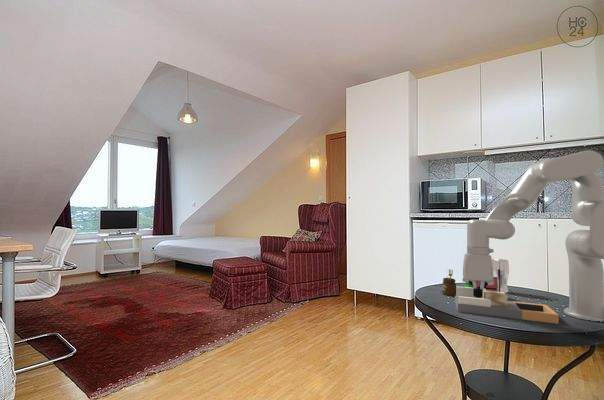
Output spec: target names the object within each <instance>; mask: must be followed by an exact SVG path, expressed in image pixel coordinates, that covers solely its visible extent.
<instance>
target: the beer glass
mask: <svg viewBox="0 0 604 400" xmlns="http://www.w3.org/2000/svg"><path fill="white" fill-rule="evenodd" d="M492 264H493V276H495V277H497V278H498V288H497V289H498V292H504V293H505V294H508V293H509V291H508V290H509V289H508V280H509V276H510V275H509V273H510V265H509V260H508V259H503V258H492Z"/></svg>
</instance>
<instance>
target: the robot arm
mask: <svg viewBox="0 0 604 400" xmlns="http://www.w3.org/2000/svg"><path fill="white" fill-rule="evenodd" d="M603 166H604V157H603V156H602V155H601V153H599V152H597V151H595V150H583V151H579V152H574V153H571V154H567V155H566V154H565V155H562V156H558V157H553V158H547V159H544V160H543V159H542V160H539V161H536V162H534V163H532V164H531V165H529V166H528V168H527V169H526V170H525V171H524V172H523V174H522V176H521V177H520V179H519V180H518V181H517V182H516V184H515V185H514V186H513V188H512V190H511V191H510V192H509V193H508V195H506V196H505V197H504V198H503V199H502V200H501V201H500V202H499V203H498V204H497V205H496V206H494V208H493V209H492V211H490V213H489V214H488V215H487V217H486V219H469V220H467V224H466V253H464V256H463V264H462V265H463V266H462V276H463V277H462V282H463V283H465V284H466V283H469V284H470V285H471V286H472V287H473V296H475V298H481V297H483V289H484V288H485V287H486V286H487V285H493V284H494V281H493V264H492V259H493V258H492V255H490V254H491V253H494V249H493V248H490V239H497V240H503V241H505V240H508V239H510V238H512V237H513V236H514V235H515V233H516V228H515V225H514V224H513V223H512V222H510V221H511V220H512V218H513V217H514V216H516V215H517V214H518V213H520V212H522V211H524V210H527V209H528V208H530V207H531V206H533V205H534V204H535V203H536V201H537V200H538V198H539V197H540V195H541V194H542V193H543V191H544V190H545V189H546V187H547V186H548V185H549V183H550V184H551V183H556V182H557V183H558V182H561V181H568V182H569V184H570V186H571V189H572V198H571V199H572V201H571V212H570V213H571V219H572V221H573V222H574V223H575V224H576V225H579V226H582V227H589V229H576V230H573V231H571V232H570V233H568V235H567V236H566V237H565V243H564V244H565V251H566V254H567V261H568V286H569V287H568V295H569V299H568V300H569V301H568V302H569V303H568V305H569V306H568V307H566V308H564V309H563V312H564V314H566V315H568V316H570V317H573V318H576V319H579V320H585V321H589V320H590V321H589V322H597V321H600V322H601V323H604V265H603V262H602V260H604V185H603V182H602V179H601V178H600V177H599V175H598V174H597V172H599V171H600V170H601V169H602V167H603ZM476 281H480V284H479V286H478V288H477V286H476ZM602 321H603V322H602ZM600 322H599V323H600Z"/></svg>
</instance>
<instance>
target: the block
mask: <svg viewBox="0 0 604 400" xmlns="http://www.w3.org/2000/svg"><path fill="white" fill-rule="evenodd" d="M483 299H490V300H491V305H493V306H502V307H507V301H508V295H507V293H504V292H496V291H486V290H483Z"/></svg>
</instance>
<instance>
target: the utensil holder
mask: <svg viewBox="0 0 604 400" xmlns="http://www.w3.org/2000/svg"><path fill="white" fill-rule="evenodd" d="M445 272H448V277H443V278H442V281H443V282H442V284H441V292H442V294H443V295H444V296H448V297H455V296H457V283H456V279H455V278H453V277H452V276H453V273H454V272H453V268H452V269H449V268H448V269H447V270H445Z"/></svg>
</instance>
